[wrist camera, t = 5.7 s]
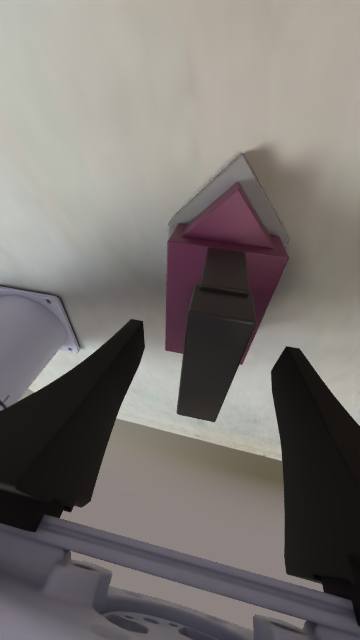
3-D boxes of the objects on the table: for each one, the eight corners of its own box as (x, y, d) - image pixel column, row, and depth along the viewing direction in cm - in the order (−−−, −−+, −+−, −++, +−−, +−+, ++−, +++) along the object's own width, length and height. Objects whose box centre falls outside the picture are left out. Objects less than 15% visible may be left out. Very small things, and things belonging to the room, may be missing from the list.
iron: (247, 330, 18) (254, 438, 12) (169, 317, 19) (136, 412, 13) (314, 159, 10) (450, 203, 4) (174, 146, 11) (91, 166, 5)
